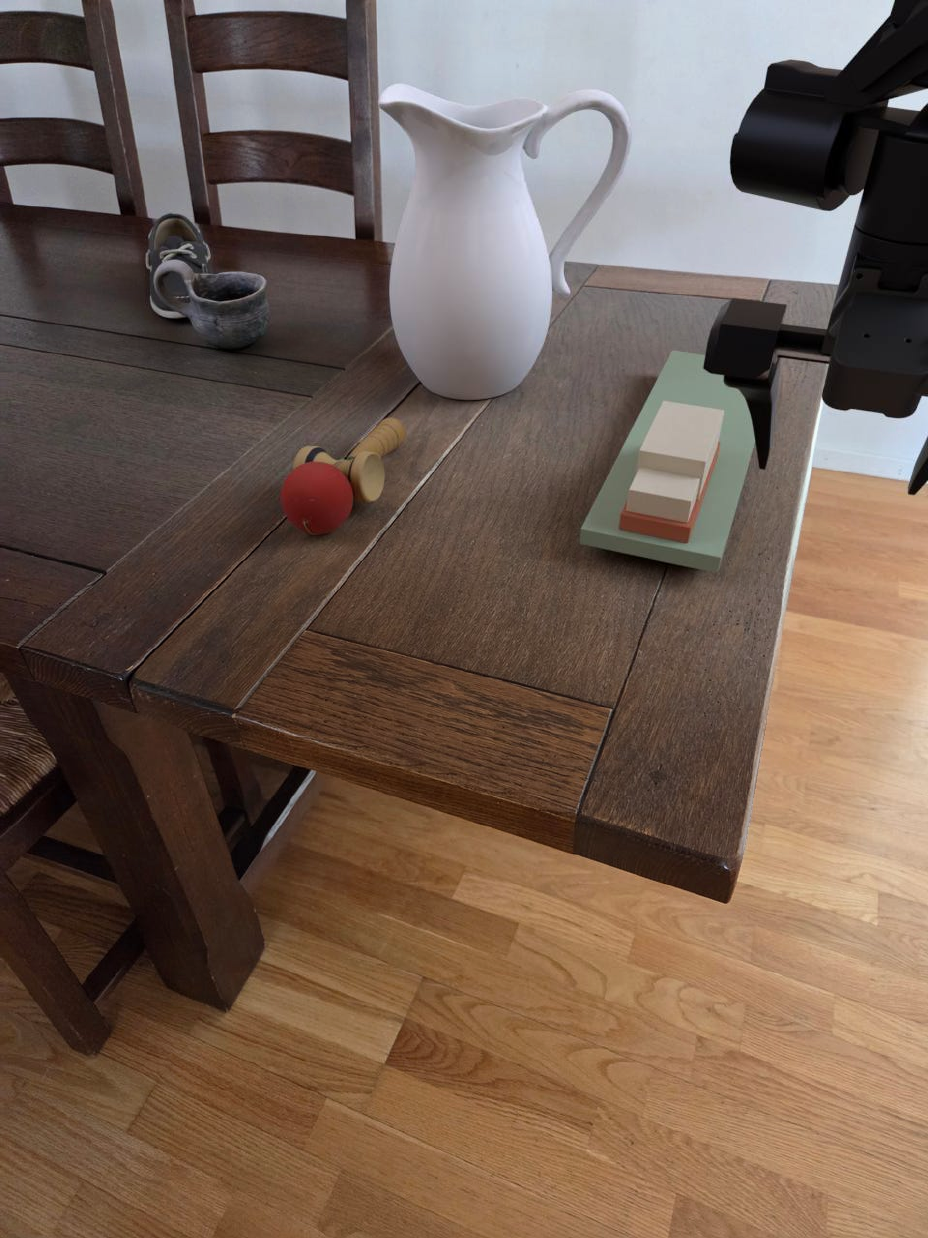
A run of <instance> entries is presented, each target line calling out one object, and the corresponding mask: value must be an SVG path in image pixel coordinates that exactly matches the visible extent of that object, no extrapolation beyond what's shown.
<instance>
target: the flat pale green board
mask: <svg viewBox="0 0 928 1238" xmlns="http://www.w3.org/2000/svg"><path fill="white" fill-rule="evenodd" d="M704 360H705V354H700V353H693V352H686V351H679V350H671V352H670V354H669V356H668V358H667V360H666V361H665V362H664V365H663V367H662V369H661V371H660V373H659V375H658V377H657V379H656V381H655V383H654V385H653V387H652V389H651V391H650V392H649V394H648V396H647V399H646V400H645V402H644V404H643V406H642V409H641V410H640V412H639V414H638V416H637V418H636V420H635V421H634V424H633V426H632V428H631V430H630V431H629V434H628V435H627V438H626V440H625V442H624V443H623V445H622V447H621V449H620V451H619V453H618V455H617V457H616V459H615V461H614V463H613V465H612V467H611V469H610V471H609V473H608V475H607V477H606V478H605V480H604V482H603V484H602V486H601V488H600V490H599V493H598V494H597V497H596V498H595V500H594V502H593V503H592V505H591V508H590V510H589V512H588V514H587V515H586V517H585V518H584V522H583V523H582V525H581V527H580V531H579V532H580V533H579V543H578V544H579V545H584V546H588V547H593V548H597V549H603V550H606V551H612V552H616V553H620V554H624V555H625V554H626V555H630V556H636V557H640V558H643V559H644V558H645V559H649V560H654V561H658V562H662V563H663V562H664V563H668V564H673V565H678V566H682V567H686V568H691V569H696V570H701V571H706V572H710V573H715V574H718V573H719V570H720V568H721V564H722V560H723V556H724V554H725V550H726V546H727V542H728V540H729V536H730V532H731V529H732V526H733V525H732V524H733V522H734V519H735V514H736V511H737V508H738V504H739V501H740V498H741V493H742V490H743V488H744V487H743V486H744V483H745V480H746V477H747V473H748V469H749V465H750V463H751V459H752V455H753V451H754V449H755V446H756V444H755V437H754V431H753V424H752V419H751V415H750V412H749V408H748V405H747V402H746V400H745V398H744V396H743V395H742V393H741V392H740V391H739V390H738V389H736V388H731V387H728V386H726V385H725V384H724V382H723V380H724V375H717V374H711V373H709V372H708V371H706V370H704V369H703V365H704ZM663 401H668V402H675V403H681V404H688V405H694V406H700V407H707V408H713V409H719V410H724V416H723V421H722V426H721V431H720V436H719V441H718V442H720V443H721V444H720V449H719V454H718V458H717V461H716V464H715V467H714V470H713V472H712V475H711V478H710V481H709V484H708V487H707V490H706V493H705V496H704V499H703V501H702V504H701V507H700V510H699V513H698V516H697V519H696V522H695V525H694V528H693V530H692V533H691V536H690V539H689V542H688V543H684V542H679V541H674V540H669V539H664V538H659V537H654V536H649V535H645V534H640V533H635V532H630V531H625V530H620V529H619V521H620V514H621V512H622V509H623V507H624V505H625V503H626V501H627V499H628V494H629V489H630V487H631V484H632V482H633V480H634V478H635V476H636V471H637V463H638V455H639V450H640V448H641V446H642V444H643V441H644V439H645V437H646V435H647V433H648V431H649V429H650V427H651V425H652V423H653V421H654V419H655V417H656V415H657V412H658V410H659V408H660V406H661V404H662V402H663Z"/></svg>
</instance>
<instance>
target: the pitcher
mask: <svg viewBox="0 0 928 1238" xmlns="http://www.w3.org/2000/svg"><path fill="white" fill-rule="evenodd" d="M377 105H378V107H379V109H381V110H382V111H383V112H384V113H385V114H387V115H388V116H389V117H390V118H392V119H393V120H394V121H395V122H396V123H397V124H398V125H399V127H401V129H402V130H403V131H404V132H405V133H406V135H407V137H408V139H409V140H410V142H411V145H412V148H413V153H414V172H413V173H414V174H413V181H412V184H411V190H410V193H409V196H408V200H407V203H406V205H405V209H404V212H403V216H402V219H401V222H400V225H399V229H398V233H397V237H396V240H395V243H394V249H393V253H392V257H391V264H390V274H389V289H388V290H389V291H388V292H389V309H390V316H391V322H392V327H393V331H394V335H395V338H396V341H397V344H398V347H399V349H400V351H401V353H402V355H403V358H404V360H405V361H406V363H407V365H408V366H409V368H410V369H411V371H412V372H413V374H414V375H415V376H416V378H417V379H418V380H419V381H420V383H421V384H422V385H423V386H424V387H425V388H426V389H427V390H429V391H430V392H431V393H433V394H435V395H438V396H440V397H445V398H448V399H453V400H461V401H479V400H487V399H492V398H496V397H499V396H502V395H505V394H508V393H510V392H511V391H513V390H515V389H516V388H517V387H518V386H519V385H521V384H522V382H523V381H524V379H525V378H526V376H527V375H528V374H529V372H530V371H531V370H532V368H533V366H534V365H535V363H536V361H537V359H538V357H539V355H540V354H541V351H542V349H543V347H544V345H545V341H546V338H547V335H548V331H549V327H550V322H551V321H550V320H551V315H552V306H553V305H552V304H553V302H552V301H553V292H554V293H556V294H559V295H561V296H570V295H571V289H570V287H569V286H568V283H567V281H566V279H565V272H564V271H565V270H564V269H565V262H566V260H567V257H568V255H569V253H570V250H571V249H572V248H573V246H574V244H575V243H576V242H577V240H578V238H579V237H580V235H581V234H582V233H583V232H584V230H585V229H586V227H587V226H588V224H589V223H590V222H591V220H592V219H593V218H594V216H595V215H596V214H597V212H598V211H599V209H600V208H601V207H602V206H603V205H604V203H605V201H606V200H607V199H608V197H609V196H610V194H611V193H612V191H613V190H614V188H615V187H616V185H617V184H618V182H619V181H620V179H621V178H622V175H623V173H624V171H625V169H626V166H627V163H628V161H629V158H630V154H631V147H632V141H633V137H632V135H633V134H632V128H631V127H632V126H631V122H630V119H629V116H628V114H627V111H626V109H625V108H624V106H623V105H622V103H621V102H620V101H619V100H618V99H617V98H615V96H613V95H611V94H610V93H608V92H606V91H603V90H601V89H595V88H583V89H578V90H574V91H572V92H569V93H567V94H565V95H563V96H561V97H560V98H557V99H556V100H554V101H553V102H552V103H550V104H547V105H546V104H544V103H543V102H541V101H539V100H537V99H534V98H531V97H510V98H507V99H503V100H499V101H495V102H491V103H487V104H480V105H469V104H468V105H467V104H462V103H459V102H454V101H451V100H448V99H444V98H442V97H439V96H436V95H434V94H431V93H430V92H427V91H424V90H422V89H420V88H417V87H415V86H412V85H409V84H406V83H394V84H391V85H389V86H387V87H386V88H385V89H384V90H383V91H382V92H381V93H380V94H379V97H378V100H377ZM585 110H586V111H587V110H589V111H590V110H592V111H597V112H599V113H602V114H603V115H604V116H605V117H606V119H607V120H608V121H609V124H610V126H611V131H612V143H611V150H610V153H609V157H608V160H607V163H606V166H605V167H604V170H603V172H602V173H601V176H600V178H599V180H598V181H597V183H596V185H595V186H594V188H593V190H592V191H591V192H590V194H589V196H588V197H587V198H586V200H585V202H584V203H583V204H582V206H581V207H580V208H579V210H578V211H577V213H576V214H575V216H574V217H573V219H572V220H571V221H570V222H569V224H568V225H567V227H566V228H565V229H564V231H563V232H562V234H561V235H560V237H559V238H558V240H557V241H556V242H555V244H554V245H553V247H552V249H551V251H550V253H549V251H548V248H547V247H548V246H547V243H546V240H545V237H544V233H543V228H542V226H541V223H540V220H539V218H538V215H537V211H536V208H535V206H534V202H533V201H532V197H531V194H530V192H529V191H530V190H529V189H528V186H527V183H526V178H525V174H524V168H523V151H524V152H525V154H526V156H528V157H529V158H531V159H532V160H535V159H538V158H539V155H540V149H541V143H542V141H543V138H544V136H546V134H547V132H549V131H550V130H551V129H552V128H553V127H554V126H555V125H556V124H557V123H559V122H561V120H563V119H565V118H566V117H568V116H570V115H572V114H573V113H577V112H579V111H585Z"/></svg>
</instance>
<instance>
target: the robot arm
mask: <svg viewBox="0 0 928 1238" xmlns="http://www.w3.org/2000/svg"><path fill="white" fill-rule="evenodd" d="M924 90H928V0H894V1H893V5H892V8H891V11H890V14H889V16H888V17H887V18H886V19H885V20H884V22H883V23H881V24H880V26H879V27H878V28H877V29H876V31H875V32H874V33H873V34H872V35H871V36H870V38H869V39H867V41H866V42H865V44H864V45H863V46H862V47H861V48H860V49H859V50H858V51H857V52H856V54H855V55H854V56H853V57H852V58H851V59H850V60H849V62H848V63H847V64H846V65H845V66H844V67H843V68H842V69H839V68H831V67H823V66H822V67H821V66H818V65H816V64H814V63H812V62H809V61H806V60H799V59H786V60H780V61H777V62H776V61H775V62H772V63H770V64H769V65H768V66H767V67H766V72H765V79H764V86H763V88H761V90H760V91H759V92H758V93H757V94H756V96H755V97H754V98H753V99H752V101H751V102H750V104H749V106H748V107H747V109H746V111H745V113H744V115H743V117H742V119H741V122H740V125H739V128H738V131H737V132H736V133H734V135H733V136H732V141H731V145H730V151H729V152H730V155H729V172H730V176H731V177H730V178H731V180H732V183H733V185H734V187H735V188H736V190H738V191H740V192H741V193H745V194H750V195H754V196H758V197H762V198H766V199H771V200H776V201H779V202H784V203H787V204H788V203H789V204H793V205H797V206H802V207H807V208H810V209H814V210H819V211H825V212H831V211H834V210H837V209H838V208H839V207H840V206H842V205H843V204H844V203H845V202H846V201H847V200H848V198H850V196H851V197H852V196H857V195H858V194H860V193H862V194H861V198H860V202H859V206H858V210H857V212H856V213H857V214H856V218H855V221H854V225H853V229H852V232H851V236H850V240H849V244H848V248H847V252H846V255H845V259H844V263H843V267H842V271H841V275H840V278H839V283H838V286H837V290H836V293H835V298H834V301H833V305H832V307H831V312H830V315H829V316H830V317H829V319H828V323H827V326H826V327H827V328H819V327H811V326H804V325H803V326H802V325H795V324H788V323H785V318H786V314H787V313H786V312H787V307H788V304H785V303H778V302H769V301H760V300H750V299H744V298H743V299H741V298H734V297H732V298H731V299H730V300H728V301H727V302H726V303H724V304H723V305H722V306H720V309H719V310H718V312H717V314H716V317H715V320H714V322H713V324H712V326H711V328H710V330H709V335H708V338H707V343H706V348H705V354H704V355H705V360H704V365H703V369H704V370H706V371H708V372H709V373H711V374H717V375H724V380H723V382H724V384H725V385H726V386H728V387H731V388H736V389H738V390H739V391H740V392H741V393H742V395H743V396H744V398H745V400H746V402H747V405H748V408H749V412H750V415H751V419H752V424H753V431H754V437H755V449H756V456H757V465H758V468H759V470H762V471H763V470H764V471H765V470H767V469H766V468H767V465H768V461H769V457H770V453H771V448H772V445H773V441H774V433H775V432H774V430H775V422H776V412H777V403H778V394H779V384H780V376H781V375H780V374H781V366H782V359H788V360H795V361H802V362H809V363H818V364H825V365H828V366H827V370H826V374H825V378H824V383H823V386H822V391H821V399H822V402H823V403H824V404H825V405H826V406H827V407H829V408H830V409H832V410H837V411H843V412H847V411H850V410H855V411H863V412H868V413H869V412H870V413H876V414H882V415H884V416H885V417H886V418H890V419H906V418H909V417H911V416H913V414H915V413H916V411H917V410H918V407H919V405H920V402H921V400H922V397H926V398H928V102H927V103H925V105H924V106H923V107H922V108H921V109H920V110H915V109H907V108H900V107H899V108H898V107H892V106H889V102H890V100H893V99H897V98H900V97H903V96H907V95H910V94H913V93H918V92H921V91H924ZM927 482H928V436H927V437H926V439H925V441H924V443H923V446H922V447H921V450H920V452H919V454H918V456H917V459H916V461H915V462H914V466H913V468H912V472H911V475H910V478H909V482H908V485H907V495H909V496H915V495H916V494H918V492H920V490H921V489H923V487H924V486H925V485H926V484H927Z"/></svg>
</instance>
